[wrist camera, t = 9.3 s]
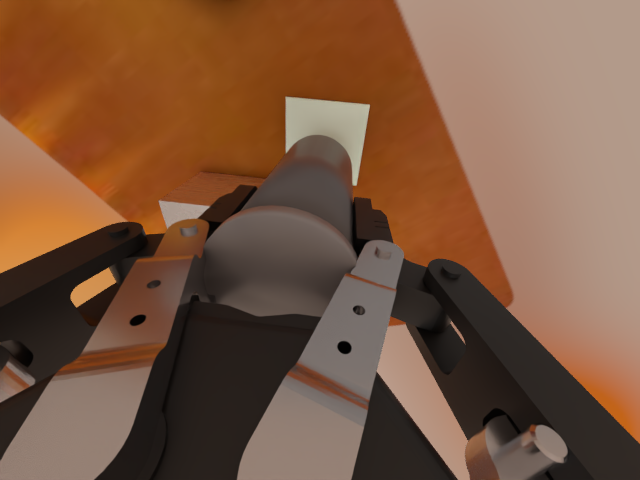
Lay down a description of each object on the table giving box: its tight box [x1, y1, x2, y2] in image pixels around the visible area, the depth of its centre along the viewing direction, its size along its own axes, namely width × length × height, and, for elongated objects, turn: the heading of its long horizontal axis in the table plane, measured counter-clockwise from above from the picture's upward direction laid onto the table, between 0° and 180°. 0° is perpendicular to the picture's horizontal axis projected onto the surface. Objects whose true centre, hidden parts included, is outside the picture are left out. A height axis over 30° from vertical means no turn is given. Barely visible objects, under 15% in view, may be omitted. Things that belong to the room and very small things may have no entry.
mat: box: [286, 96, 370, 186], centre depth 23 cm, size 7×7×1 cm
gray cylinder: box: [203, 135, 358, 317], centre depth 12 cm, size 5×5×11 cm
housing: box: [158, 172, 266, 229], centre depth 26 cm, size 13×13×7 cm
